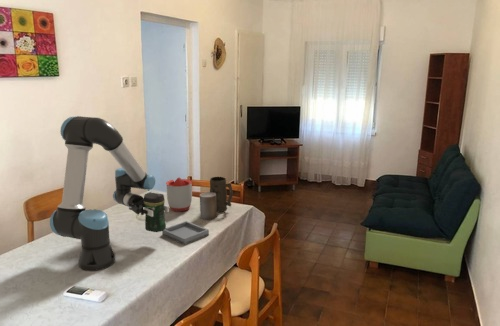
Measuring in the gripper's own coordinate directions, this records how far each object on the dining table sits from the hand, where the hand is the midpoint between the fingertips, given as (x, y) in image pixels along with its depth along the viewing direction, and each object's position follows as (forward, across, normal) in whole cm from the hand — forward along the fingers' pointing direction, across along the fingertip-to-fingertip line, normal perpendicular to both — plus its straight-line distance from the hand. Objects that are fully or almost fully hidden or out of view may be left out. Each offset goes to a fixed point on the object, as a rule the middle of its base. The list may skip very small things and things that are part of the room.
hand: (160, 211), depth 191 cm
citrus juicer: (-37, -40, -18) cm, 57 cm away
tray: (-2, -16, -18) cm, 24 cm away
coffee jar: (-5, 0, -11) cm, 12 cm away
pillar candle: (-13, -42, -18) cm, 47 cm away
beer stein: (-16, -56, -17) cm, 61 cm away
